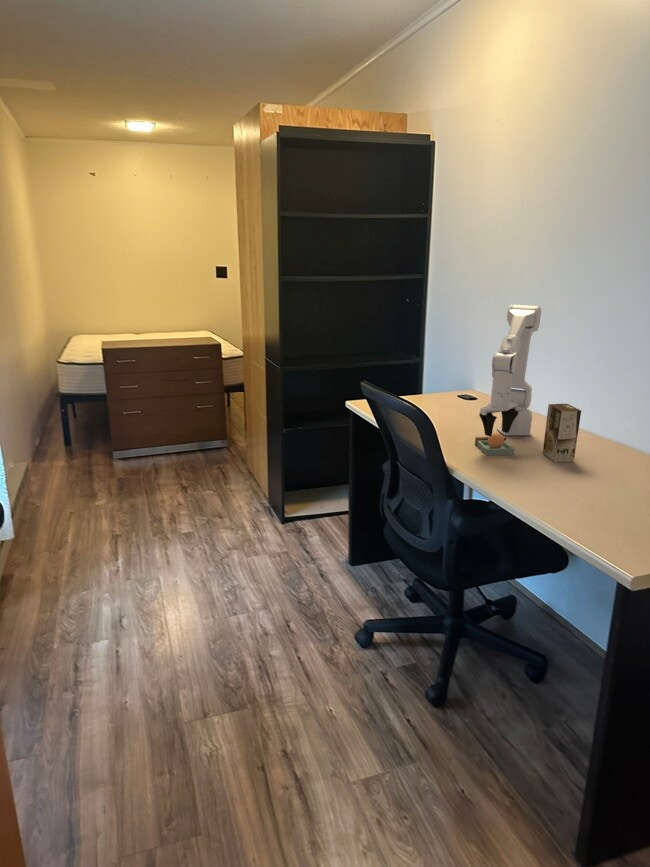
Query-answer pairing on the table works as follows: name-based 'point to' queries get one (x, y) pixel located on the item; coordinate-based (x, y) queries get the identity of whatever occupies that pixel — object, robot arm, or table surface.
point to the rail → (484, 439)
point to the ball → (495, 440)
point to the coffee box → (561, 432)
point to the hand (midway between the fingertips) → (496, 433)
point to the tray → (487, 450)
